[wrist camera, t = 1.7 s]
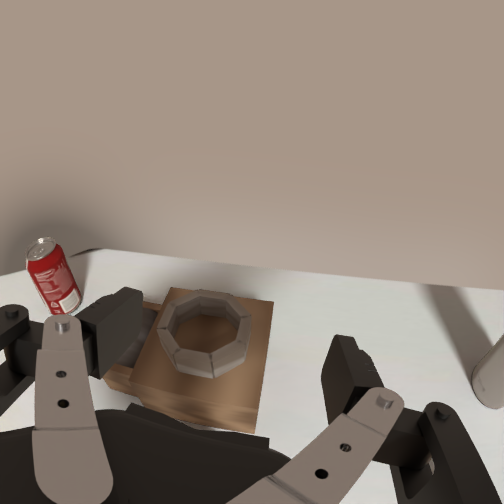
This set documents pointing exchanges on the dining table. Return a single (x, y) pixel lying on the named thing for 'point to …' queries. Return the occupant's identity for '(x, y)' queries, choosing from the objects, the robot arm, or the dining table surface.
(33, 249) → the soda can
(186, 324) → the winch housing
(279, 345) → the dining table surface
